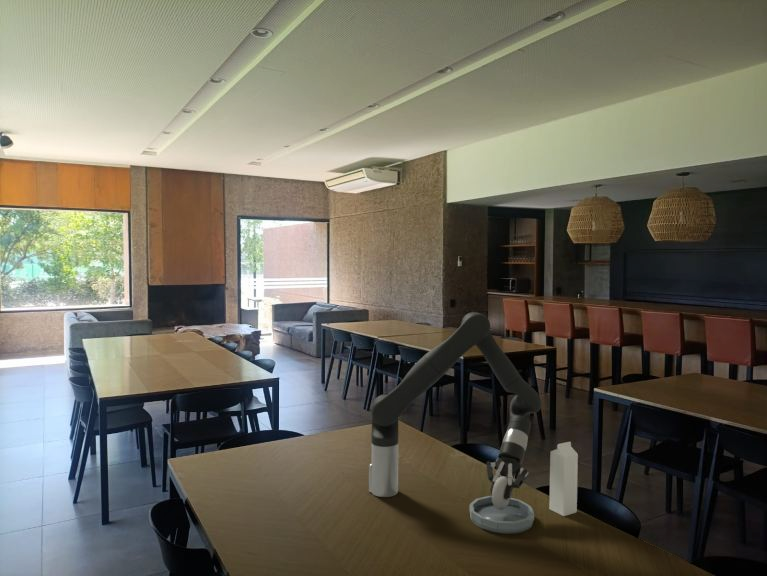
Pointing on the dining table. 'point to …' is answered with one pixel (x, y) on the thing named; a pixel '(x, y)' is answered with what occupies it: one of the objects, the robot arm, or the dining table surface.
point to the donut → (500, 493)
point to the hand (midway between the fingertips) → (499, 496)
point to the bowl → (501, 516)
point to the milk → (563, 479)
